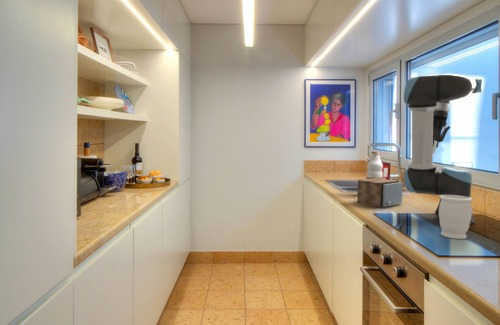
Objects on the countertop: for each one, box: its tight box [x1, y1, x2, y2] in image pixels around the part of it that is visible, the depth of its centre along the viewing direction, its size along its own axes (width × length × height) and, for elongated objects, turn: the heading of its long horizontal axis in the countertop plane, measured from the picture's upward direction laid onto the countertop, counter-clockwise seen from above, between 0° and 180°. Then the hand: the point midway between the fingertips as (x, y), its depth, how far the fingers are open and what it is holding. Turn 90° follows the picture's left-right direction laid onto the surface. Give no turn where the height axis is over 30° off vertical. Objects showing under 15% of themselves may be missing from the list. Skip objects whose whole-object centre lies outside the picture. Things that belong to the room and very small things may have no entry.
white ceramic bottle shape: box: [366, 151, 383, 179], centre depth 209 cm, size 9×9×28 cm
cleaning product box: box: [367, 160, 391, 180], centre depth 229 cm, size 16×9×20 cm, turn 179°
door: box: [382, 181, 404, 208], centre depth 179 cm, size 3×18×12 cm, turn 127°
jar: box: [439, 195, 474, 240], centre depth 126 cm, size 11×10×15 cm
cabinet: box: [356, 178, 400, 209], centre depth 186 cm, size 14×17×13 cm
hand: (432, 152), depth 181 cm, fingers closed
